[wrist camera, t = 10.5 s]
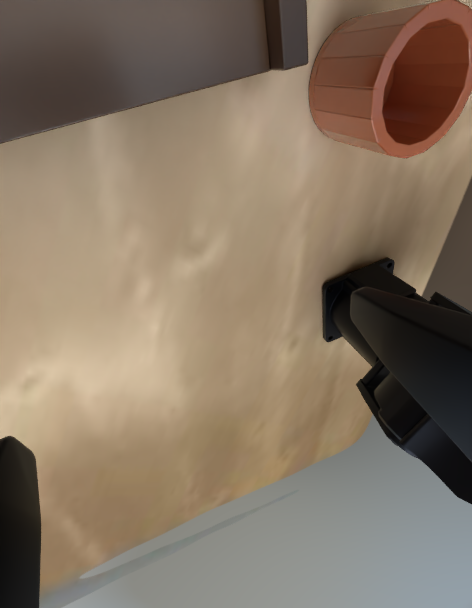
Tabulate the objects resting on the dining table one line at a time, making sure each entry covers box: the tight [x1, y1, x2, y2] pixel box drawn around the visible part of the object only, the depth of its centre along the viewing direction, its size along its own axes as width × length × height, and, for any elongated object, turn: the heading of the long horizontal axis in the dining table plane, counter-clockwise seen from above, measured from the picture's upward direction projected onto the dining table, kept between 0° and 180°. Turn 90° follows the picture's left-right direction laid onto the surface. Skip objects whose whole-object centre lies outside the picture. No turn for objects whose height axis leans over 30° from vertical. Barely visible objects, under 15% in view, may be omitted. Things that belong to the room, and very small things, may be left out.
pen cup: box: [309, 0, 472, 158], centre depth 16 cm, size 6×6×5 cm
